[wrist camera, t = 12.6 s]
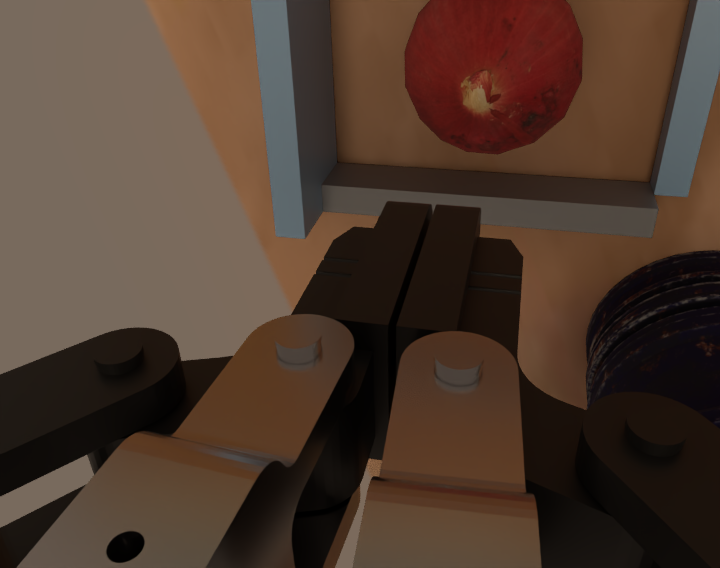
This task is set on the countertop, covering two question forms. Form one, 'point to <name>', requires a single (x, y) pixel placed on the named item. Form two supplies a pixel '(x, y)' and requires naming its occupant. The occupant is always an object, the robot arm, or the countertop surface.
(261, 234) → the countertop surface
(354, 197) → the channel organiser
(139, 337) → the robot arm
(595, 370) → the storage jar
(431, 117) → the pomegranate
